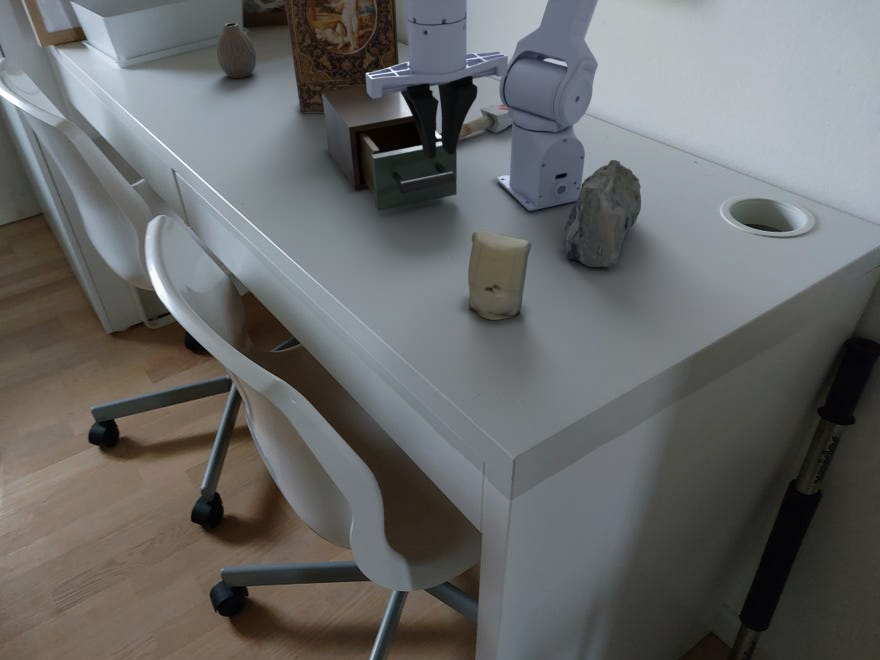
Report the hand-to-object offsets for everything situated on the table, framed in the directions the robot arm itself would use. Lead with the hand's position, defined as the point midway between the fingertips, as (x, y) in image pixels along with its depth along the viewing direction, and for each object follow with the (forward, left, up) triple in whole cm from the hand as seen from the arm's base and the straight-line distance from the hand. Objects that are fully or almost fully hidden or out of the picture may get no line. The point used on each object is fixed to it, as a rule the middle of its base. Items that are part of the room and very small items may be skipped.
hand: (439, 152), depth 77 cm
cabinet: (+23, 0, -10) cm, 25 cm away
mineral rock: (-8, -17, -11) cm, 22 cm away
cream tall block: (-15, 0, -11) cm, 19 cm away
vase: (+71, +12, -11) cm, 72 cm away
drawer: (+12, 0, -9) cm, 15 cm away
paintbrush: (+27, -18, -11) cm, 34 cm away
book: (+46, -2, -11) cm, 47 cm away
